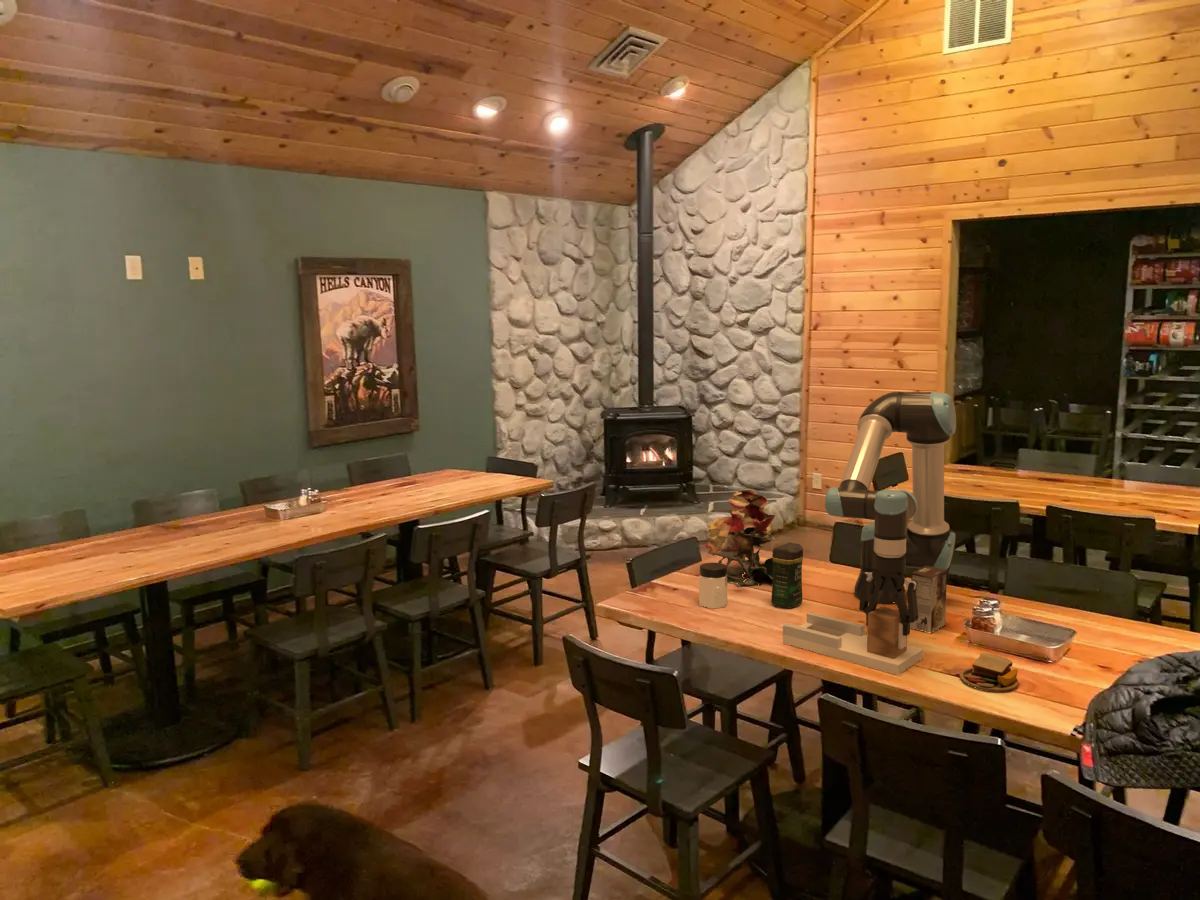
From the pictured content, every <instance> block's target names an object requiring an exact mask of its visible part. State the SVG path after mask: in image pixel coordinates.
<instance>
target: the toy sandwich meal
mask: <svg viewBox="0 0 1200 900" xmlns="http://www.w3.org/2000/svg"><path fill="white" fill-rule="evenodd" d="M1011 667H1013V661H1012V660H1010V659H1008V658H1007V657H1004V656H1001V655H997V654H992V653H987V652H985V653H984V652H983V653H982V652H981V653H980V654H979V656H978V657H977V659H975V660H974V661H973V663H972V666H971V667H970V668H969V667H968V668H966V669H965V668H964V669H963V670H961V672H960V673H959V677H960V679H961V680H962V681H963V683H965V684H966V683H967V685H968V684H969V685H970V686H969V685H968V686H969V687H971V686H973V687H972V688H974V687H976V688H975V689H977V688H978V689H977V690H980V689H982V690H981V691H985V690H988V691H987V692H992V691H1004V692H1007V691H1006V690H1009V691H1011V690H1010V689H1012V690H1014V688H1016V687H1017V686H1018V684H1019V680H1018V679H1017V676H1018V672H1019V671H1018V670H1019V668H1013V669H1012V668H1011ZM969 674H970V675H969Z"/></svg>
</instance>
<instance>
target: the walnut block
mask: <svg viewBox="0 0 1200 900" xmlns="http://www.w3.org/2000/svg"><path fill="white" fill-rule="evenodd" d="M900 622H902V619H901V616H900V613H899V610H898V609H893V608H889V607H886V606H879V607H878V608H877V607H876V609H875V610H873V611H872V612H870V613H868V627H867V634H866V635H867V652H869V653H873V654H876V655H880V656H884V657H888V658H892V659H895V658H896V657H898V656H899V655H901V654H903V653H904V652H906V651H907V645H908V636H906V646H905V647H904V648H902V649H898V640H899V623H900Z"/></svg>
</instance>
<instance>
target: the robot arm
mask: <svg viewBox="0 0 1200 900" xmlns="http://www.w3.org/2000/svg"><path fill="white" fill-rule="evenodd" d="M856 426H857V430H858V433H857V434H856V435H857V436H856V439H855V442H854V444H853V446H852V450H851V453H850V455H849V458H848V460H847V464H846V467H845V468H844V472H843V474H842V478H841V480H840V483H839V487H837V486H836V487H830V488H828V489H827V491H826V494H825V499H824V500H825V501H824V505H825V507H824V508H825V511H826V513H827V514H828V515H829V516H833V517H839V518H848V519H849V518H850V519H858V520H859V519H862V520H872V521H874V522H869V523H867V524H866V523H865V525H863V526H862V528H861V537H860V571H859V574H858V576H857V579H856V582H855V585H854V589H853V591H854V592H853V596H854V595H855V596H856V597H857V599H858V598H859V599H858V600H859V606H858V609H859V611H860V612H863V613H864V614H865V620H866V621H865V622H866V623H865V625H866V627H867V628H868V613H870V612H872V611H873V610H875V609H877V606H878V605H879V604H880V603H892V604H894V603H893V602H896V603H895V605H896V607H897V610H899V613H900V616H901V619H902V622H900V623H899V640H898V649H902V648H904V647H905V646H906V636H907V637H908V636H909V635H910V633H911V629H910V623H913V622H915V621H917V620H918V608H917V596H916V589H917V585H918V582H917V581H911V580H910V579H908V578H907V575H906V568H913V569H920V568H922V567H924V566H930V567H935V568H939V569H944V570H948V569H949V567H950V565H951V561H952V559H953V555H954V550H955V545H956V533H955V532H953V531H950V529H951V528H950V524H949V523H948V522H947V521H945V445H946V444H947V443H948V442H949V441H950V439H951V436H952V435H954V434H955V433H956V430H957V414H956V407H955V402H954V400H953V398H952V396H951V395H950V394H948V393H945V392H936V391H891V392H888V393H886V394H882V395H881V396H879V397H877V398H876V399H875V400H873V401H872V402H871V403H870V404H869V405H868V406H867V407H866V408H865V409H864V410H863V412H862V413H861V414H860V417H859V419H858V421H857V425H856ZM892 433H902V434H906V441H907V442H908V443H909V444H911V452H912V454H911V456H912V457H911V459H912V460H911V461H912V463H911V464H912V465H911V466H912V469H911V470H912V492H910V491H908V490H905V489H904V490H903V489H899V490H897V489H883V490H870V488H871V485H872V481H873V480H874V475H875V472H876V470H877V467H878V464H879V462H880V461H879V460H880V457H881V455H882V451H883V449H884V445H885V442H886V440H887V439H889V438H890V437H891V435H892ZM909 520H911V521H910V522H908V521H909ZM855 596H854V597H855ZM856 597H855V598H856ZM905 597H906V598H907V602H906V599H905Z"/></svg>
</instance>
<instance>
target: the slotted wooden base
mask: <svg viewBox="0 0 1200 900" xmlns="http://www.w3.org/2000/svg"><path fill="white" fill-rule="evenodd" d="M865 625H866V624H863V623H862V624H861V623H857V622H853V621H849V620H845V619H841V618H837V617H832V616H830V615H825V614H820V613H815V612H808V613H806V622H805V623H803V624H801V625H795V624H791V623H784V624H783V625H782V644H783V643H786V644H785V645H787V644H790V645H789V646H791V645H793V646H792V647H794V646H796V647H795V648H798V647H800V648H799V649H801V648H803V649H802V650H805V649H806V650H805V651H809V650H810V651H809V652H812V651H813V653H817V654H819V653H821V654H820V655H824V656H827V657H831V658H834V659H838V660H841V661H844V662H845V661H846V662H849V663H853V664H856V665H859V666H864V667H867V668H870V669H874V670H878V671H881V672H886V673H888V672H889V673H888V674H892V675H895V674H896V676H899V675H901V674H902V673H904V672H905V671H907V670H908V669H910V668H911V667H913V666H914V665H916V664H917V663H919V662H920V661H921V660H920V659H922V658H923V659H924V654H925V653H924V651H925V650H924V648H922V647H918V646H913V645H909V644H907V651H906V652H904V653H903V654H901V655H899V656H898V657H896V658H895V659H892V658H888V657H884V656H880V655H876V654H873V653H869V652H867V634H865ZM923 659H922V660H923ZM919 660H920V661H919ZM918 661H919V662H918ZM916 662H917V663H916ZM915 663H916V664H915ZM913 664H914V665H913ZM912 665H913V666H912ZM910 666H911V667H910ZM909 667H910V668H909ZM907 668H908V669H907ZM906 669H907V670H906ZM904 670H905V671H904ZM903 671H904V672H903ZM901 672H902V673H901ZM900 673H901V674H900ZM898 674H899V675H898Z"/></svg>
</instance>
